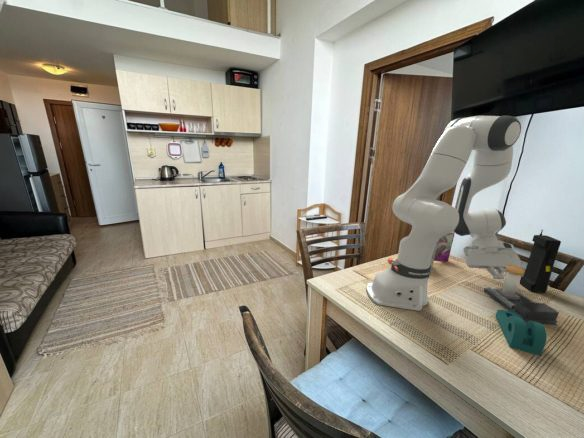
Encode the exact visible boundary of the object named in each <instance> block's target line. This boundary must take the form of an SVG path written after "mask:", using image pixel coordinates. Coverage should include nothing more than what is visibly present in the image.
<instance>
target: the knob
mask: <svg viewBox="0 0 584 438" xmlns="http://www.w3.org/2000/svg"><path fill="white" fill-rule="evenodd" d="M525 270H526V268H523V267H519V266H515V265H506V269H504V271H506V274H505V276H504V279H503V283H502V287H501V288H495V289H496V292H498V293H499V294H500V295H502V296H503V297H505V298H506V299H514V300H520V296H518V295H517V294H516V291H517V290H518V286H519V285H520V279H521V277H522V276H524V273H525Z"/></svg>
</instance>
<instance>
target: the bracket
mask: <svg viewBox="0 0 584 438" xmlns="http://www.w3.org/2000/svg"><path fill="white" fill-rule="evenodd" d="M494 317H495V319H496V322H497V323H498V326H499V328H500V330H501V332H502V335H503V336H504V338H505V340H506V343H507V344H508V347H509V348H510V349H515V350H518V351H522V352H525V353H529V354H531V353H532V355H535V354H536V356H538V355H539V356H540V357H541V356H542V354H543V351H544V348H545V345H546V343H547V338H548V337H547V330H546V327H545V324H541V323H538V322H533V321H528V322H527V323H525V321H524V320H523V318H522V317H521V316H519V315H518V314H516V313H513V312H511V311H508V310H507V309H501V308H500V309H497V310H496V313H495V316H494Z"/></svg>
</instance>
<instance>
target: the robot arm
mask: <svg viewBox="0 0 584 438" xmlns="http://www.w3.org/2000/svg"><path fill="white" fill-rule="evenodd" d="M521 133H522V125H521V122H520V121H519V119H518V118H517V117H516V116H511V115H501V116H500V115H474V116H468V117H465V116H462V117H458V118H455V119H453V120H451V121H450V122H448V124H447V125H446V127H445V128H444V131H443V133H442V135H441V136H440V137H439V139H438V140H437V142H436V143H435V145H434V147H433V149H432V151H431V153H430V155H429V157H428V159H427V162H426V164H425V166H424V167H423V169H422V170H421V171H422V172H421V174H419V176H418V178H417V179H416V180H415V182H414V183H413V184H412V185H411V186H410V187H409V188H408V189H407V190H406V191H405V192H403V193H402V194H400V195H397V197H396V198H395V199H394V200H393V202H392V206H391V208H392V213H393V214H394V215H395V217H396V218H398V220H400V221H401V222H403V223H405V224H409V225H410V226H411V231H410V233H409V234H408V235H407V236H405V237H403V238H402V239H401V240H400V241H399V248H398V254H397V258H396V259H395V260H393V258H392V257H389V258H387V260H386V261H387V263H388V264H389V265H390V266H391V267H389V268H387V269H385V270H383V271H381V272H379V273H377V274H376V275H375V276H374V277H373V278H374V279H373V280H372V281H373V282H368V283H367V284H366V288H365V290H366V293H367V295H368V297H369V298H370V300H372V302H374V303H375V304H376V305H379V306H380V305H381V306H387V307H393V308H397V309H398V308H399V309H405V310H412V311H417V312H419V311H422V309H423V307H424V306H426V305H428V303H429V295H428V284H429V283H428V280H429V278H430V276H431V270H432V269H431V265H430V263H431V259H432V254H433V250H434V247H435V245H436V243H437V242H438V240H439V239H440V238H441V237H442V236H444V235H447V234H449V233H451V232H452V231H453V232H454V233H455V234H456V235H458V236H460V237H464V236H470V237H471V239H472V244H473V245H472V246H469V245H467V246H464V248H463V249H462V250H463V253H464V259H465V263H466V266H467V267H468V268H469V269H470V268H471V269H486V270H487V272H488V273H489V274H490V275H492V278H493V279H494V280H505V276H504V272H505V269H506V265H515V266H519V267H521V268H523V263H522V261H521V259H520V256H519V255H518V253H517V252H516V251H515V250H514V249H515V246H514V245H513V244H511V243H508V242H505V241H503V240H501V239H498V237H497V235H496V234H497V233H499V232H500V231H502V230H503V229H504V227H505V226H506V224H507V220H506V217H505V215H504V213H503V212H502V211H500V210H499V209H497V208H490V209H480V210H473V211H472V210H471V211H470V207H471V203H472V200H473V198H474V197H475V195H476V194H479V192H481V191H483V190H485V189H487V188H490V187H493V186H494V185H496V184H499V183H500V182H502V181H504V180H505V179H506V178H507V177H508V176H509V174H510V172H511V169H512V166H513V157H514V156H513V154H514V146H513V145H515V143H517V141H518V139H519V138H520V135H521ZM472 151H474V157H473V158H474V159H473V165H472V169H471V171H470V172H468V173H469V174H468V175H467V176H465V177H464V178H462V181H461V183H460V185H459V189H458V190H459V191H458V194H457V197H456V203H455V206H452V204H451V205H450V204H449V203H447V202H444V201H443V200H442V201H441V200H438V199H437V198H438V197H439V196H440V195H442V194H444V193H445V192H446V191H449V190H451V189H453V188H454V187H455V186H457V183H458V181H459V179H460V177H461V175H462V173H463V171H464V169H465V167H466V165H467V163H468V162H469V159H470V157H471V154H472ZM495 270H496V271H495Z"/></svg>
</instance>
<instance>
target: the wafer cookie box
mask: <svg viewBox="0 0 584 438" xmlns="http://www.w3.org/2000/svg"><path fill="white" fill-rule="evenodd" d="M455 234H456V233H454V232H453V231H452V232H451V233H449V234H447V235H444V236H442V237H441V238H440V239H439V240H438V243H437V247H436V252H435V257H434V261H435V262H441V263H448V262H449V259H450V254H451V249H452V246H453V242H454V238H455Z"/></svg>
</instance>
